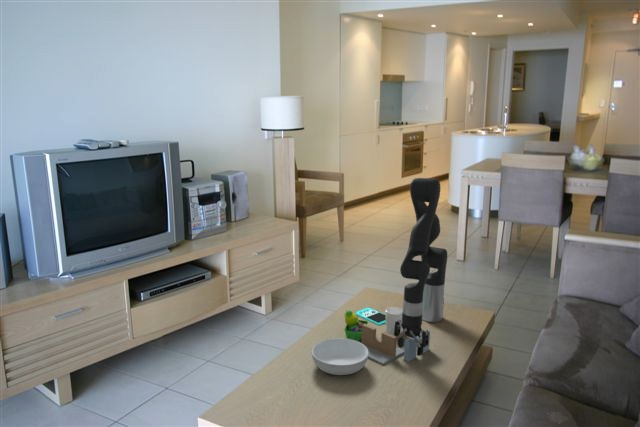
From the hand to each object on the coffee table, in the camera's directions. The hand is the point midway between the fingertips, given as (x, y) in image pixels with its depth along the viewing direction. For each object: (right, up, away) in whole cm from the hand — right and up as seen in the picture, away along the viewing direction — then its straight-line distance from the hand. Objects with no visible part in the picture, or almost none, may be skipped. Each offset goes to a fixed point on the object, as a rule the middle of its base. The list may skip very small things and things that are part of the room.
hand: (410, 351), depth 199 cm
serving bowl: (-27, -5, -6) cm, 28 cm away
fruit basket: (-20, +1, +18) cm, 27 cm away
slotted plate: (+3, -2, +4) cm, 6 cm away
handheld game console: (-10, +5, +38) cm, 40 cm away
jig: (-12, -2, +6) cm, 13 cm away
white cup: (-3, +2, +23) cm, 23 cm away
